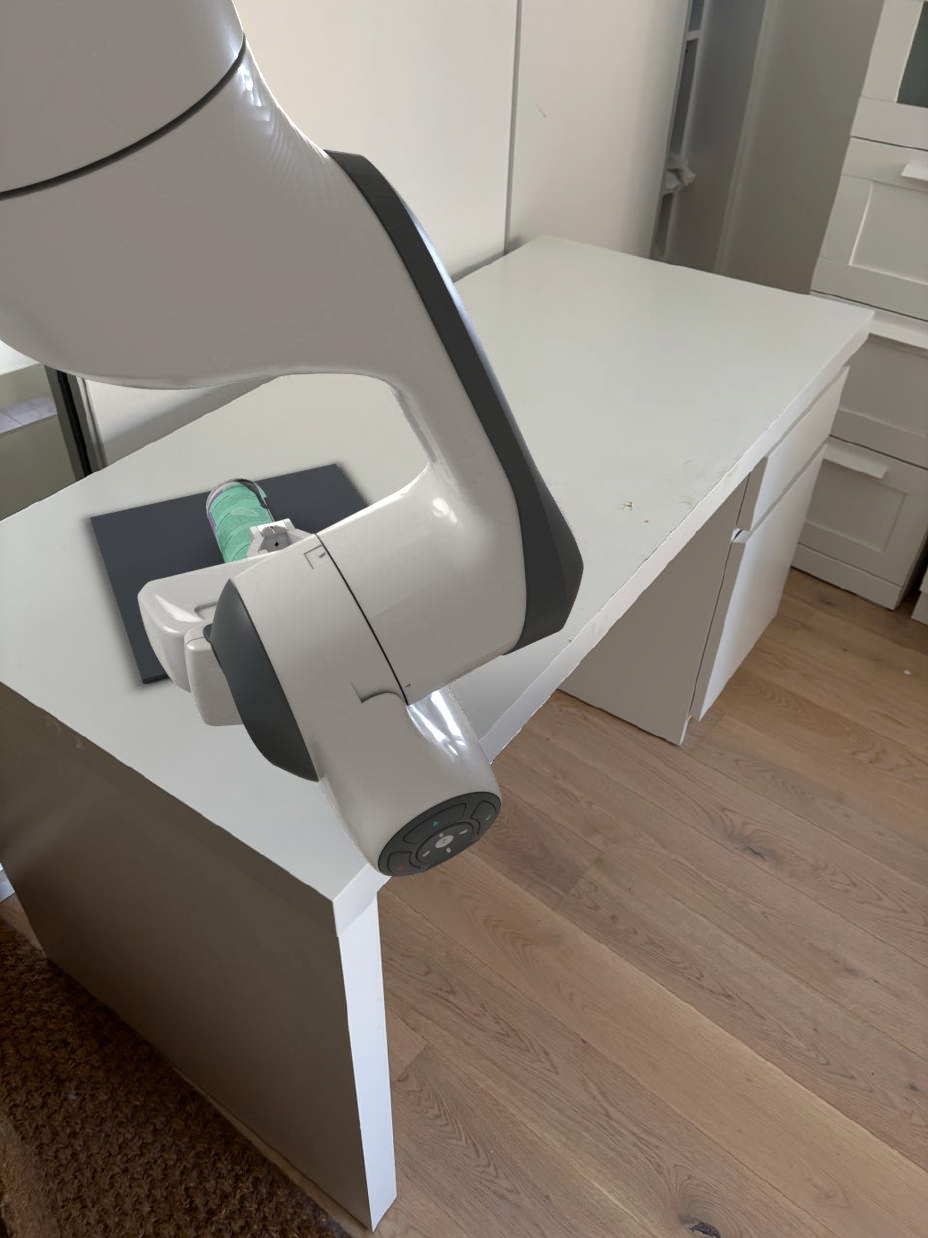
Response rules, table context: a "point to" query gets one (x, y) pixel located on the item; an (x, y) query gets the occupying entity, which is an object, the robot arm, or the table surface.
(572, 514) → the table surface
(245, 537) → the spray can
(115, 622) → the table surface
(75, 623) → the table surface
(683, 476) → the table surface
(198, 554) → the mat
